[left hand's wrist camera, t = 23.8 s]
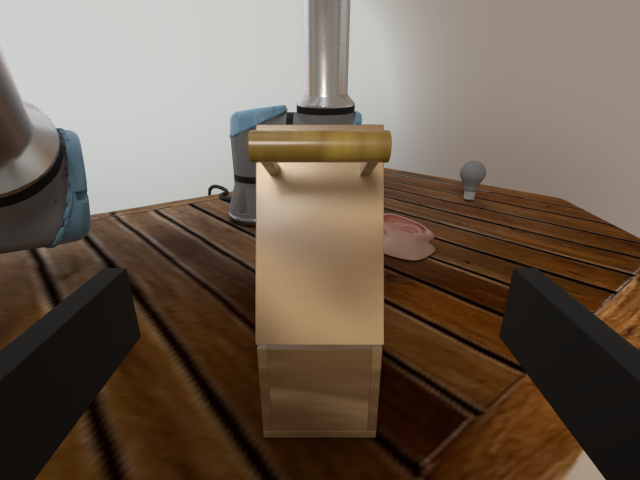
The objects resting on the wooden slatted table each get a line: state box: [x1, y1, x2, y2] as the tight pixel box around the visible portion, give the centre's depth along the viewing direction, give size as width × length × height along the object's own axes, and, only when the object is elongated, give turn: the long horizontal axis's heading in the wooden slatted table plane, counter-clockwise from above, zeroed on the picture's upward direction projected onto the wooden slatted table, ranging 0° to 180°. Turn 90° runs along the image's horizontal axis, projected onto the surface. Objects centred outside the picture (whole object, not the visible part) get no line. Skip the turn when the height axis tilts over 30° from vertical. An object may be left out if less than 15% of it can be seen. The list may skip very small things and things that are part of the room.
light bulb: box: [460, 161, 486, 200], centre depth 94 cm, size 6×6×10 cm
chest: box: [257, 345, 382, 438], centre depth 35 cm, size 15×9×9 cm, turn 0°
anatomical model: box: [384, 213, 435, 261], centre depth 66 cm, size 13×4×12 cm
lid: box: [248, 125, 391, 345], centre depth 23 cm, size 15×9×8 cm
